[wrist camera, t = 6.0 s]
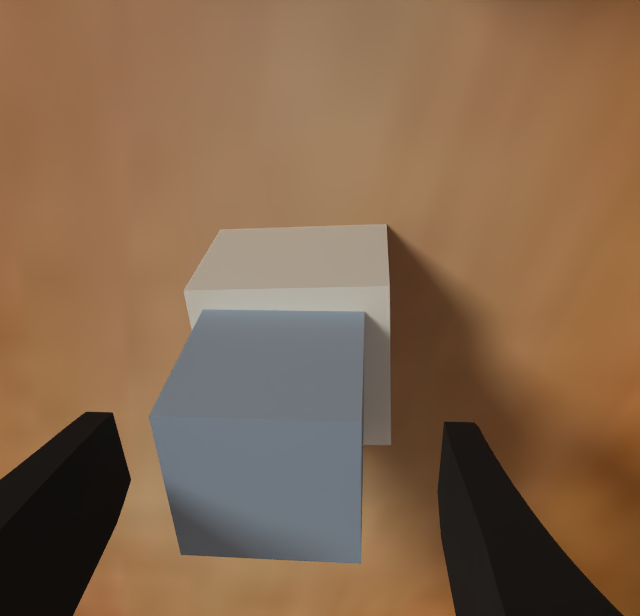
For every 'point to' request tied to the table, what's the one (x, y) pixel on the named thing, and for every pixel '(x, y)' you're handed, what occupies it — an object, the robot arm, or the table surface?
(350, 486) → the blue cube
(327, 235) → the cream block
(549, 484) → the table surface
